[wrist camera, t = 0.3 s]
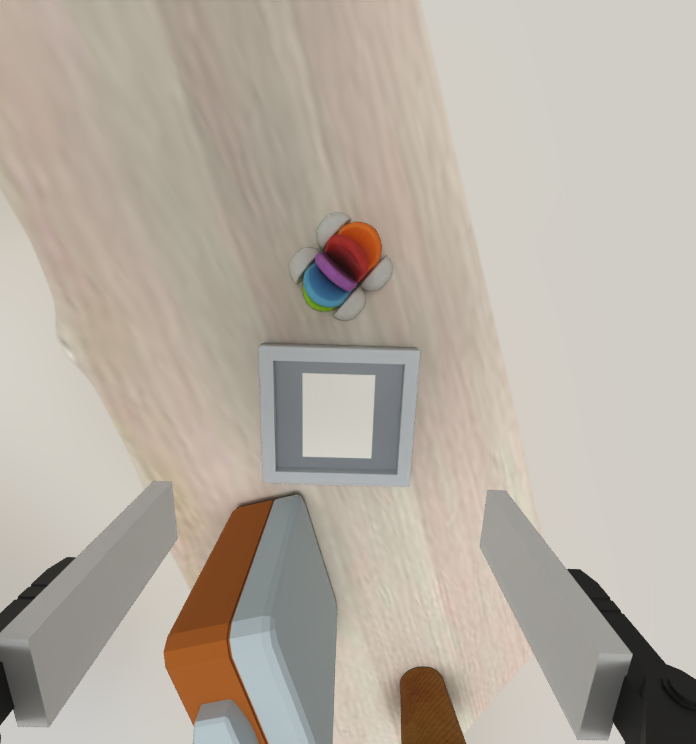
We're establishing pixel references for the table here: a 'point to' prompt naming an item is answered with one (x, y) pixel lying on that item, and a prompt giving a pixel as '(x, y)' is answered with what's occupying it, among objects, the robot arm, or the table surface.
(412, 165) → the table surface
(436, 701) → the disposable coffee cup
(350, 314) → the rainbow disc rolling toy
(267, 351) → the square gray tray
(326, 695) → the rectangular block
